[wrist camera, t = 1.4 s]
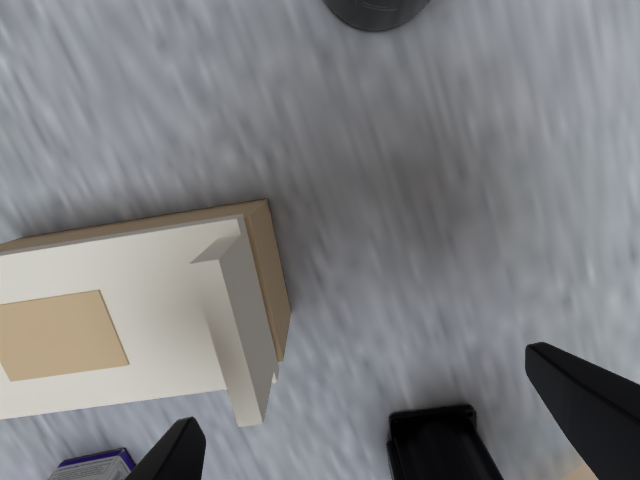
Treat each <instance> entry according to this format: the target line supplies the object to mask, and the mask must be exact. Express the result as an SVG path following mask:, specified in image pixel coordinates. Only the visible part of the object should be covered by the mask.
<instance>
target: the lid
mask: <svg viewBox="0 0 640 480" xmlns="http://www.w3.org/2000/svg"><path fill="white" fill-rule="evenodd" d="M278 373H279V365H278V361H277V357H276V352H275V348H274V344H273V340H272V335H271V331H270V327H269V323H268V319H267V314H266V310H265V306H264V302H263V297H262V293H261V289H260V285H259V280H258V276H257V272H256V268H255V263H254V259H253V255H252V251H251V247H250V242H249V238H248V234H247V230H246V225H245V221H244V217H243V214H237V215H231V216H225V217H218V218H212V219H206V220H199V221H193V222H187V223H181V224H174V225H168V226H162V227H155V228H149V229H143V230H136V231H130V232H124V233H117V234H111V235H105V236H98V237H92V238H86V239H79V240H73V241H67V242H60V243H54V244H48V245H41V246H35V247H29V248H23V249H16V250H10V251H4V252H0V419H8V418H15V417H23V416H30V415H38V414H45V413H53V412H60V411H68V410H75V409H83V408H90V407H98V406H105V405H113V404H120V403H128V402H135V401H143V400H150V399H157V398H165V397H172V396H180V395H187V394H195V393H202V392H210V391H217V390H225V389H227V391H228V394H229V398H230V401H231V404H232V408H233V411H234V414H235V418H236V421H237V424H238V427H245V426H252V425H260V424H263V423H264V418H265V413H266V408H267V403H268V398H269V393H270V388H271V383H277V379H278Z"/></svg>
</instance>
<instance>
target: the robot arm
mask: <svg viewBox="0 0 640 480" xmlns="http://www.w3.org/2000/svg"><path fill="white" fill-rule="evenodd" d="M525 370H526V374H527V376H528V378H529V380H530V381H531V383H532V384H533V386H534V387H535V389H536V391H537V392H538V394H539V395H540V397H541V398H542V400H543V401H544V403H545V405H546V406H547V408H548V409H549V411H550V412H551V414H552V416H553V417H554V419H555V420H556V422H557V423H558V425H559V426H560V428H561V430H562V431H563V433H564V434H565V436H566V437H567V438H568V440H569V441H570V443H571V444H572V445H573V447H574V448H575V449H576V451H577V452H578V453H579V455H580V456H581V457H582V458H583V460H584V461H585V462H586V464H587V465H588V466H589V467H590V468H591V470H592V471H593V472H594V474H595V475H596V477H597V478H598V479H599V480H640V385H639V384H637V383H635V382H633V381H630V380H628V379H626V378H624V377H621V376H619V375H617V374H615V373H612V372H610V371H608V370H606V369H604V368H601V367H599V366H597V365H595V364H592V363H590V362H588V361H586V360H583V359H581V358H579V357H577V356H575V355H572V354H570V353H568V352H566V351H563V350H561V349H559V348H557V347H554V346H552V345H550V344H548V343H545V342H538V343H534V344H529V345H527V346H526V349H525ZM468 412H469V413H468ZM395 421H397V422H395ZM389 427H390V435H391V440H389V441H388V442H387V444H386V446H387V454H388V462H389V468H390V473H391V477H392V480H504V479H503V477H502V475H501V473H500V472H499V470H498V468H497V466H496V464H495V463H494V461H493V459H492V457H491V456H490V454H489V452H488V450H487V448H486V447H485V445H484V443H483V441H482V439H481V438H480V436H479V434H478V432H477V423H476V411H475V410H474V408H473V407H472V406H470V405H464V406H456V407H448V408H440V409H432V410H424V411H416V412H409V413H401V414H394V415H391V416H390V417H389ZM205 448H206V439H205V435H204V433H203V432H202V430H201V428H200V426H199V424H198V422H197V420H196V419H195V418H194V417H187V418H182V419H179V420H177V421H176V422H175V423H174V424H173V425H172V427H171V428H170V429H169V430H168V431H167V432H166V433H165V434H164V435H163V437H162V438H161V439H160V440H159V441H158V442H157V443H156V444H155V446H154V447H153V448H152V449H151V450H150V451H149V452H148V453H147V454H146V456H145V457H144V458H143V459H142V460H141V461H140V462H139V463H138V464H137V466H136V467H135V468H134V469H133V470H132V471H131V472H130V473H129V475H128V476H127V477H126V478H125V479H124V480H201V476H202V469H203V462H204V455H205Z"/></svg>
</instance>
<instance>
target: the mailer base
mask: <svg viewBox="0 0 640 480" xmlns="http://www.w3.org/2000/svg"><path fill="white" fill-rule="evenodd" d="M237 214H243V217H244V221H245V225H246V230H247V234H248V238H249V242H250V247H251V251H252V255H253V259H254V263H255V268H256V272H257V276H258V280H259V285H260V289H261V293H262V297H263V302H264V306H265V310H266V314H267V319H268V323H269V327H270V331H271V335H272V340H273V344H274V348H275V352H276V357H277V361H278V362H280V361H283V358H284V352H285V346H286V340H287V334H288V329H289V323H290V317H291V309H290V305H289V300H288V295H287V290H286V286H285V281H284V276H283V271H282V266H281V262H280V257H279V252H278V247H277V243H276V238H275V233H274V228H273V223H272V219H271V214H270V209H269V204H268V200H267V199H261V200H255V201H249V202H242V203H236V204H230V205H224V206H217V207H211V208H205V209H198V210H192V211H186V212H180V213H173V214H167V215H161V216H155V217H148V218H142V219H136V220H130V221H123V222H117V223H111V224H105V225H98V226H92V227H86V228H80V229H73V230H67V231H61V232H55V233H48V234H42V235H36V236H30V237H23V238H19V239H16V240H12V241H9V242H6V243H2V244H0V252H4V251H10V250H16V249H23V248H29V247H35V246H41V245H48V244H54V243H60V242H67V241H73V240H79V239H86V238H92V237H98V236H105V235H111V234H117V233H124V232H130V231H136V230H143V229H149V228H155V227H162V226H168V225H174V224H181V223H187V222H193V221H199V220H206V219H212V218H218V217H225V216H231V215H237Z"/></svg>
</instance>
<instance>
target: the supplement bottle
mask: <svg viewBox="0 0 640 480" xmlns="http://www.w3.org/2000/svg"><path fill="white" fill-rule="evenodd" d="M324 1H325V2H326V3H327V5H328V6H329V7H330V9H331V10H332V11H333V12H334V13H335V14H336V15H337V16H338V17H340V18H341V19H342V20H344V21H345V22H347V23H348V24H350V25H352V26H355V27H357V28H360V29H365V30H373V31H377V30H387V29H391V28H394V27H397V26H399V25H401V24H403V23H405V22H407V21H409V20H410V19H412V18H413V17H414V16H415V15H417V14H418V13H419V12H420V11H421V10H422V9H423V8H424V7H425V6H426V5H427V4H428V3H429V1H430V0H324Z"/></svg>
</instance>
